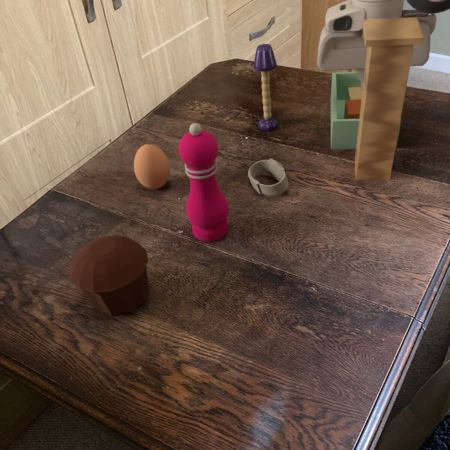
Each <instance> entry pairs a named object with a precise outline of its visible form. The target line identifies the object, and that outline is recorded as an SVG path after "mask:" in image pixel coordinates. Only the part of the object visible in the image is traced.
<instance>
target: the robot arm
mask: <svg viewBox="0 0 450 450" xmlns="http://www.w3.org/2000/svg"><path fill="white" fill-rule="evenodd" d="M406 2H407V3H408V4H409V5H410V7H411V8H412V9H404V5H405V4H404V3H405V0H345V1H342V2H340V3H338V4H335V5H333V6H331V7H329V8H328V9H327V11H326V13H325V18H324V21H325V23H324V24H325V25H324V26H323V28H322V30H321V31H320V36H319V41H318V47H317V58H316V67H317V69H319V71H321V72H331V71H332V72H334V71H349V70H352V71H353V70H356V71H355V72H357V76H358V78H359V80H360V82H361V91H363V82H364V76H363V74H364V71H365V64H366V55H367V47H365V42H364V34H363V20H371V19H390V18H409V17H417V18H418V21H419V25H420V28H421V31H422V34H423V37H424V39H423V44H420V45H414V47H413V52H412V58H411V64H410V67H422V66H425V64H427V63H428V61H429V60H430V53H431V36H432V34H433V33H434V32H435V29H436V25H437V15H436V14H439V13H443V12H446V11H449V10H450V0H406Z"/></svg>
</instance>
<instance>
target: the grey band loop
mask: <svg viewBox="0 0 450 450" xmlns="http://www.w3.org/2000/svg"><path fill="white" fill-rule="evenodd" d="M263 173H269V174H271V175H272V176H273V177H274V178H275V179H276V181H278V182H277V183H274V184H269V185H268V184H262V183H260V181H259V180H257V179H255V178H256V177H257V176H259V175H261V174H263ZM247 176H248V179H249V181H250V183H251V186H252V187H253V189H254V190H255V191H256V192H257V193H258V194H259V195H262V194H263V195H266V196H277V195H281V194H283V193H284V192H287V190H288V189H289V186H290V184H289V179H288V176H287V172H286V170H285V168H284V167H283V165H282V164H281V163H280V162H278V161H277V160H275V159H274V158H269V159H262V160H259V161H256V162H254V163H253V164H252V165H250V167H249V168H248V170H247Z"/></svg>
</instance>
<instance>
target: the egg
mask: <svg viewBox="0 0 450 450" xmlns="http://www.w3.org/2000/svg"><path fill="white" fill-rule="evenodd" d="M133 171H134V174H135V177H136V179H137V180H138V182H139V183H140V184H141V185H142V186H143V187H145V188H146V189H149V190H158V189H161V188H162V187H164V186H165V185H166V183H168V181H169V178H170V176H171V164H170V162H169V159H168V157H167V155H166V154H165V153H164V151H163V150H162V149H161V148H160V147H159V146H157V145H156V144H152V143H146V144H143V145H142V146H140V147H139V148H138V149H137V151H136V153H135V156H134V160H133Z"/></svg>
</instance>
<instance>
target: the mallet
mask: <svg viewBox="0 0 450 450" xmlns="http://www.w3.org/2000/svg"><path fill="white" fill-rule="evenodd" d="M361 100H362V91H361V87H348V93H347V100H346V101H345V112H344V119H359V118H360V109H361Z"/></svg>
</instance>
